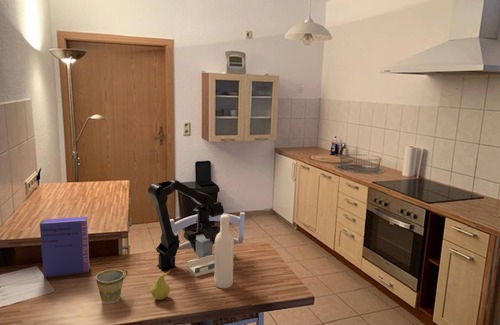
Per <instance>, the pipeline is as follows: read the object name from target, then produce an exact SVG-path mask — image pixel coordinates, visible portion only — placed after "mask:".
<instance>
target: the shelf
mask: <svg viewBox="0 0 500 325" xmlns="http://www.w3.org/2000/svg"><path fill="white" fill-rule="evenodd" d="M234 266H235V257H233V267H234ZM185 269H187V271H189V272H190V273H191V274H192V275H193V276H194V277H199V276H203V275H207V274H210V273H213V272H215V253H214V254H213V253H212V255H209V256H205V257H202V258H200V257H199V258H194V259H191V260H187V261H186V264H185Z"/></svg>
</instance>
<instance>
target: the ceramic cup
mask: <svg viewBox="0 0 500 325" xmlns="http://www.w3.org/2000/svg"><path fill="white" fill-rule="evenodd" d="M128 273H129V272H128V270H127V269H123V270H121V269H116V268H115V269H114V268H113V269H107V270H103V271H100V272H99V273H97V274H96V276H95V280H96V281H95V282H96V286H97V288H98V289H97V290H98V292H99V296H100V300H101V302H102V304H104V305H111V304H112V305H113V304H115V303H117V302H119V301H120V299H121V294H122V287H123V283H124V280H125V279H126V277H127V275H128Z"/></svg>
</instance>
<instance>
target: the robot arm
mask: <svg viewBox="0 0 500 325" xmlns="http://www.w3.org/2000/svg"><path fill="white" fill-rule="evenodd" d="M175 191H177V192H180V193H181V194H183V195H185V196H187V197H189V198H190V199H191V200H192V201H193V202H195V203H196V204H198V205H200V206H198V205H196V206H195V207H194V208H193V211H194V212H196V213H197V219H196V220H195V221H196V223H197V225H196V228H195V230H196V231H195V232H194V231H193V230H188V231H184V232H183V233H182V234H183V238H184V239H185V240H187V241H188V242H189V243H190V246H191V247H192V249H193V252H195V251H196V241H197V240H196V238H197V237H201V236H204V237H205V238H206V239H208V240H210V241H211V242H212V248H213V246H214V245H215V238H216V236H217V234H218V233H219V232H220V226H219V225H217V224H216V225H212V222H211V220H210V217H211V218H215V217H220V216H221V215H224V213H225V210H224V206H223V204H222V202H221V201H217V202H214V201H213V200H212V196H211V195H209V194H207V193H204V192H201V191H198V190H196V189H193V188H191V187H189V186H187V185H186V184H184V183H181V181H180V180H177V179H174V178H173V179H169V180H165V181H161V182H158V183H151V184H150V185H149V187H148V188H147V193H148V195H149V197H150V199H151V201H152V202H153V204H154V205H155V210H156V213H157V218H158V222H159V226H160V229H161V236H160V243H159V244H158V245H157V247H156V248H155V250H156V252H157V253H158V264H157V267H158V268H159V270H161V271H162V272H165V271H170V270H172V269H176V268H177V267H176V255H177V253H178V249H179V248H180V243H181V241H180V236H179V234H178V233H176V232H175V231H173V227H172V223H171V219H170V214H169V211H168V206H167V202H168V198H169V197H168V196H170V195H171V194H173V193H174V192H175Z"/></svg>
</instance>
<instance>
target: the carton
mask: <svg viewBox="0 0 500 325" xmlns="http://www.w3.org/2000/svg"><path fill="white" fill-rule="evenodd" d="M196 240H197V241H196V251H195V252H194V251H193V252H194V254H195V255H196V256H197V255H198V256H197V257H199V258H202V257H205V256H209V255H213V247H212V242H211V241H210V239H206V238H205V236H204V235H200V236H196Z"/></svg>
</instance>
